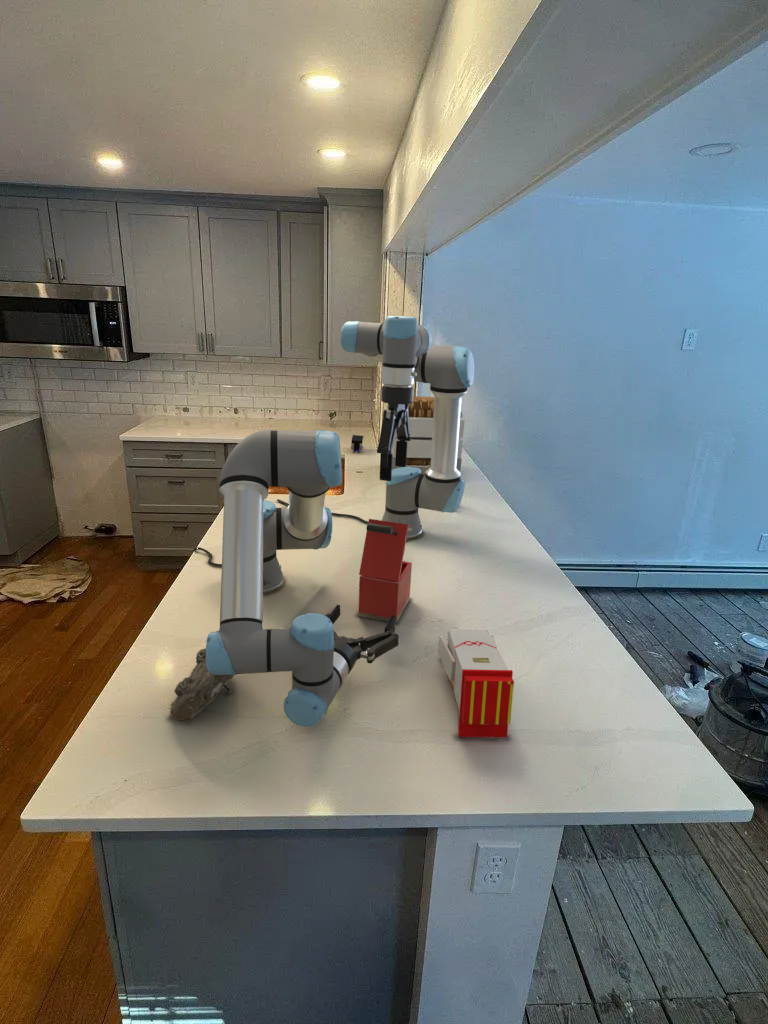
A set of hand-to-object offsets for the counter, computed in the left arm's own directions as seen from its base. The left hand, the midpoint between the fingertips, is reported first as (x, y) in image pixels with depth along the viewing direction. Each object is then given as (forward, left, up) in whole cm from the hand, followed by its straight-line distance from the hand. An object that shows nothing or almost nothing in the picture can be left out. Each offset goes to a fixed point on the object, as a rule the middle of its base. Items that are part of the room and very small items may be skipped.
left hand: (365, 614), depth 133 cm
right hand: (0, +18, +30) cm, 35 cm away
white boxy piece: (-22, +148, -7) cm, 149 cm away
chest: (0, +16, -7) cm, 18 cm away
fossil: (-23, -29, -7) cm, 38 cm away
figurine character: (-64, +176, -7) cm, 188 cm away
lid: (0, +13, +11) cm, 18 cm away
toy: (+27, -11, -7) cm, 30 cm away
